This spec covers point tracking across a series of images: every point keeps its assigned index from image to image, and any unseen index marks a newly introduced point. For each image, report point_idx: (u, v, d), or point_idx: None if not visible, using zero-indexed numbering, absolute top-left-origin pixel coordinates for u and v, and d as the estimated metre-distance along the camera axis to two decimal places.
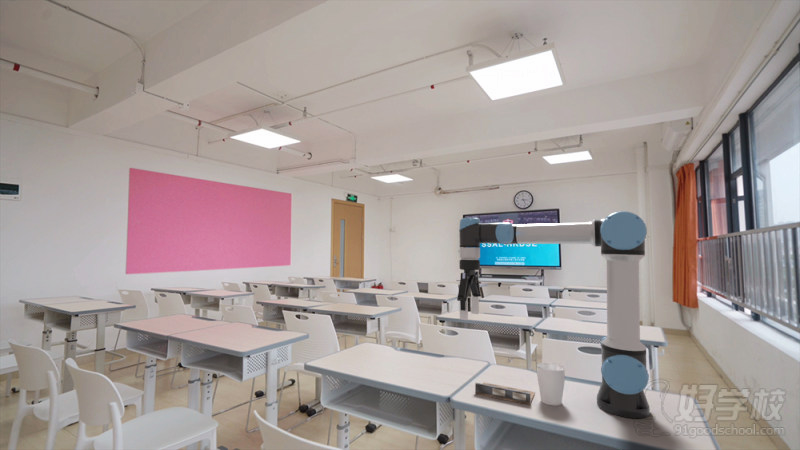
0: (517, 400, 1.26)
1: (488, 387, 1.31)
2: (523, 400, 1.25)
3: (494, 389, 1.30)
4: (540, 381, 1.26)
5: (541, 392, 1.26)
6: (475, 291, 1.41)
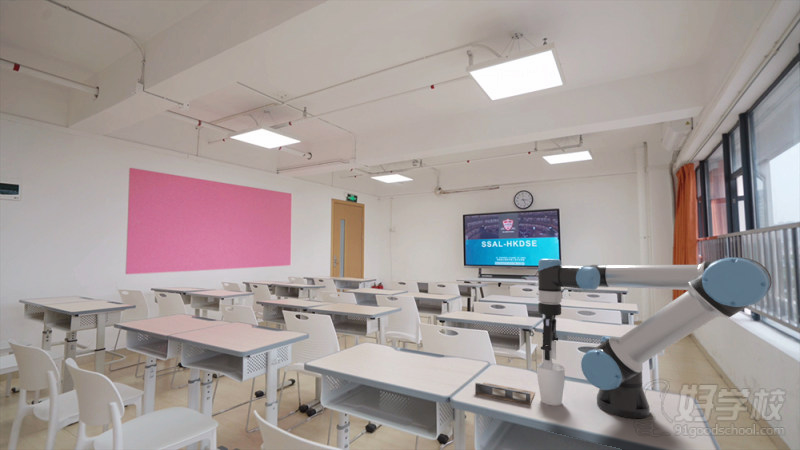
0: (517, 400, 1.26)
1: (488, 387, 1.31)
2: (523, 400, 1.25)
3: (494, 389, 1.30)
4: (540, 381, 1.26)
5: (541, 392, 1.26)
6: (553, 335, 1.33)
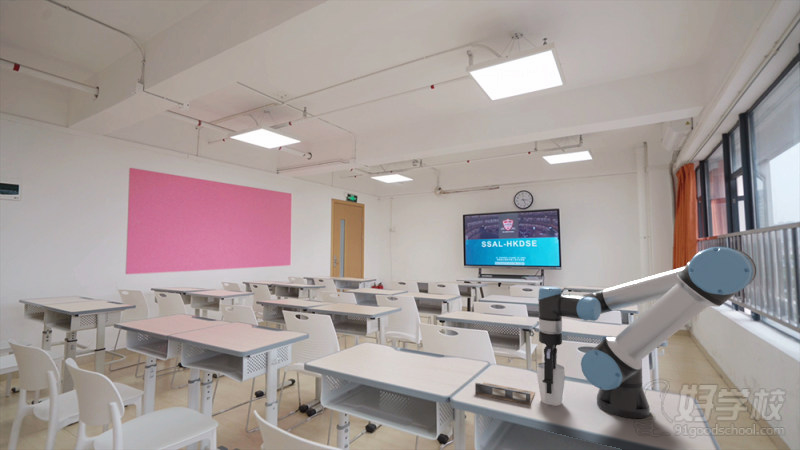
0: (517, 400, 1.26)
1: (488, 387, 1.31)
2: (523, 400, 1.25)
3: (494, 389, 1.30)
4: (540, 381, 1.26)
5: (541, 392, 1.26)
6: (553, 367, 1.31)
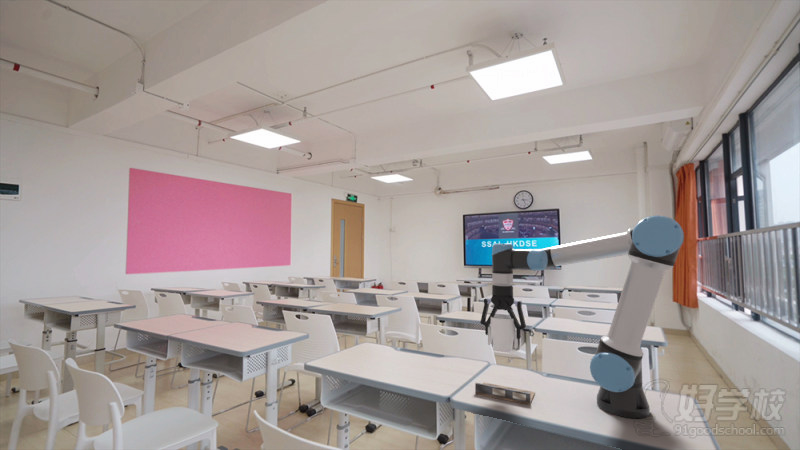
0: (517, 400, 1.26)
1: (488, 387, 1.31)
2: (523, 400, 1.25)
3: (494, 389, 1.30)
4: None
5: None
6: None
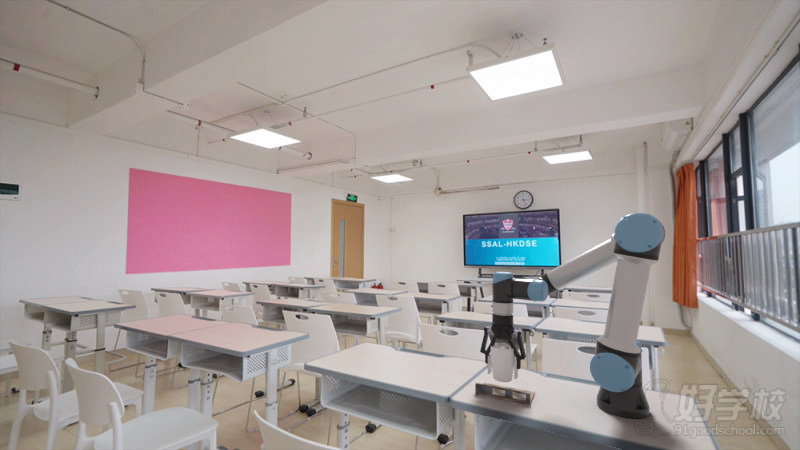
0: (517, 400, 1.26)
1: (488, 387, 1.31)
2: (523, 400, 1.25)
3: (494, 389, 1.30)
4: None
5: None
6: None
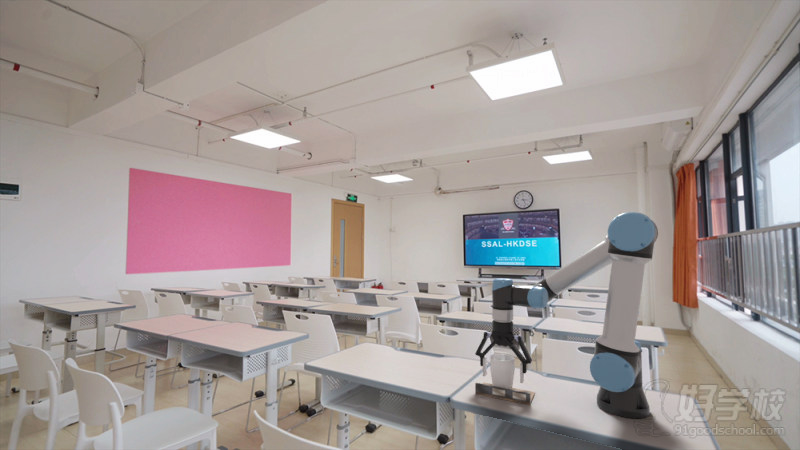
0: (517, 400, 1.26)
1: (488, 387, 1.31)
2: (523, 400, 1.25)
3: (494, 389, 1.30)
4: None
5: None
6: None
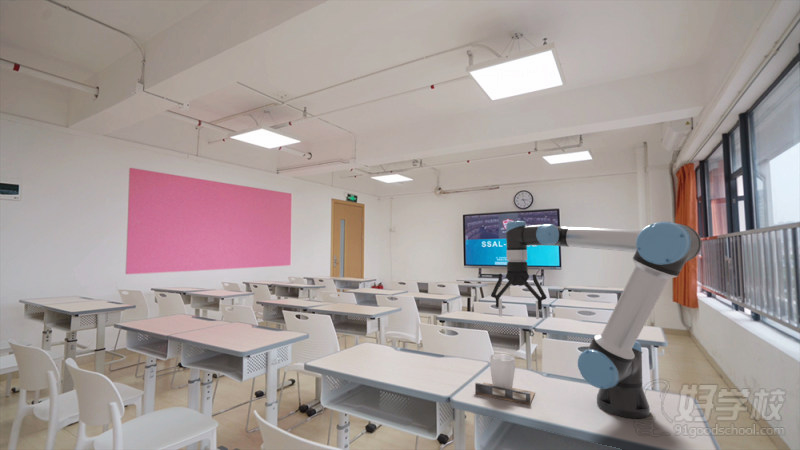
0: (517, 400, 1.26)
1: (488, 387, 1.31)
2: (523, 400, 1.25)
3: (494, 389, 1.30)
4: None
5: None
6: (533, 294, 1.37)
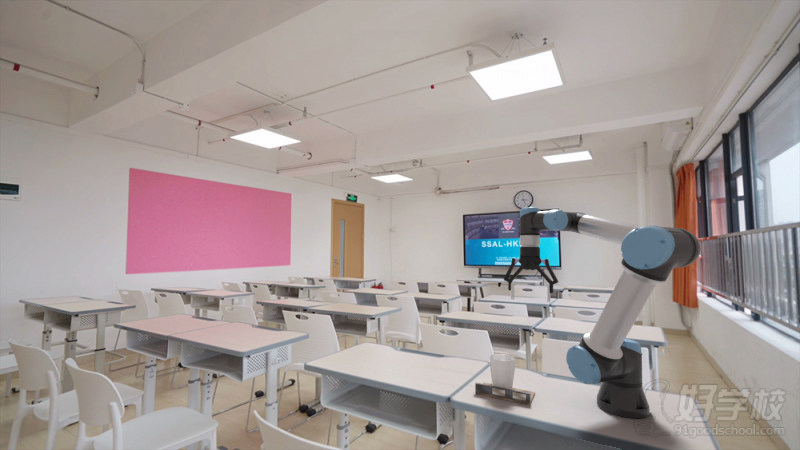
0: (517, 400, 1.26)
1: (488, 387, 1.31)
2: (523, 400, 1.25)
3: (494, 389, 1.30)
4: None
5: None
6: (545, 278, 1.41)
